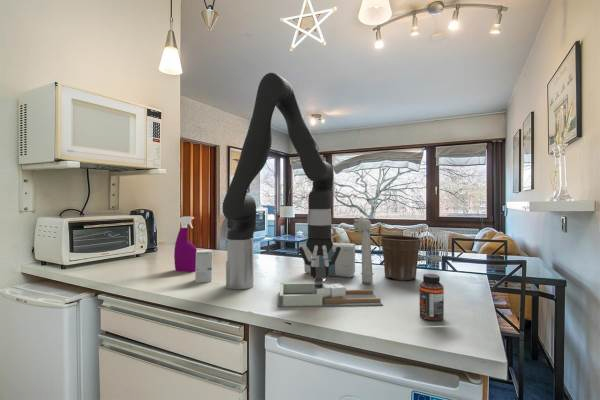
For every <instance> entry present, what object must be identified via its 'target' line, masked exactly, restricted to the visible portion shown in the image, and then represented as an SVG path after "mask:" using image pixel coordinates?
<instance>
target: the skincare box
mask: <svg viewBox="0 0 600 400" xmlns="http://www.w3.org/2000/svg"><path fill="white" fill-rule="evenodd" d="M213 254H214V253H213V249H202V250H198V249H197V251H196V271H195V272H194V273H195V277H194V278H195V281H194V283H210V282H212V280H213Z"/></svg>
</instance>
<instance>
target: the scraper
mask: <svg viewBox="0 0 600 400" xmlns="http://www.w3.org/2000/svg"><path fill="white" fill-rule="evenodd" d="M326 279H327V278H326V271H325V267H315V279H313V283H314V285H318V284H324V282H325V281H326Z"/></svg>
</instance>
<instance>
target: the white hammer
mask: <svg viewBox="0 0 600 400" xmlns="http://www.w3.org/2000/svg"><path fill="white" fill-rule="evenodd" d="M353 221H354V222H353V228H354V230H353V231H354V233H359V234H361V272H360V275H361V284H363V285H372V284H373V283H374V282H373V275H374V273H373V262H372V261H373V260H372V246H371V245H372V244H371V232H370V231H371V229H372V223H371V220H370V219H369V218H364V217H363V216H359V217H354V219H353Z"/></svg>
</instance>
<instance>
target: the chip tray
mask: <svg viewBox="0 0 600 400" xmlns="http://www.w3.org/2000/svg"><path fill="white" fill-rule="evenodd" d="M312 285H314V282H282V283H281V282H280V284H279V286H280V287H279V292H280V306H315V305H322V294H300V295H283V293H312Z"/></svg>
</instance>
